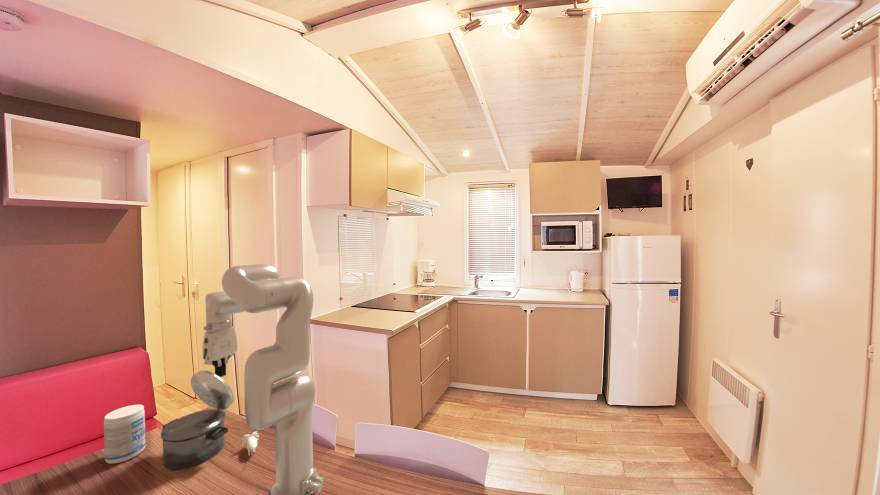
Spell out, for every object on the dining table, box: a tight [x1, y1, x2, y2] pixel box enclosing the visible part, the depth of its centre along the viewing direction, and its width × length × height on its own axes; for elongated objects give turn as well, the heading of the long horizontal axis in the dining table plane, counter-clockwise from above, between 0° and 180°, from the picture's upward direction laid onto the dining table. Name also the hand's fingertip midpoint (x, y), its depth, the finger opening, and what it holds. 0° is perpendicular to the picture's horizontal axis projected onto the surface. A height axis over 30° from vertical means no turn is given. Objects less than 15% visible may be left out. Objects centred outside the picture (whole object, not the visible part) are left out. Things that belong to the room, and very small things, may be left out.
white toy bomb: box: [241, 430, 260, 456], centre depth 101 cm, size 12×5×5 cm, turn 37°
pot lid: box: [190, 370, 235, 410], centre depth 108 cm, size 17×17×3 cm
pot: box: [160, 408, 229, 471], centre depth 102 cm, size 23×18×10 cm
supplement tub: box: [103, 404, 147, 465], centre depth 101 cm, size 10×10×15 cm
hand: (220, 375), depth 111 cm, fingers closed
